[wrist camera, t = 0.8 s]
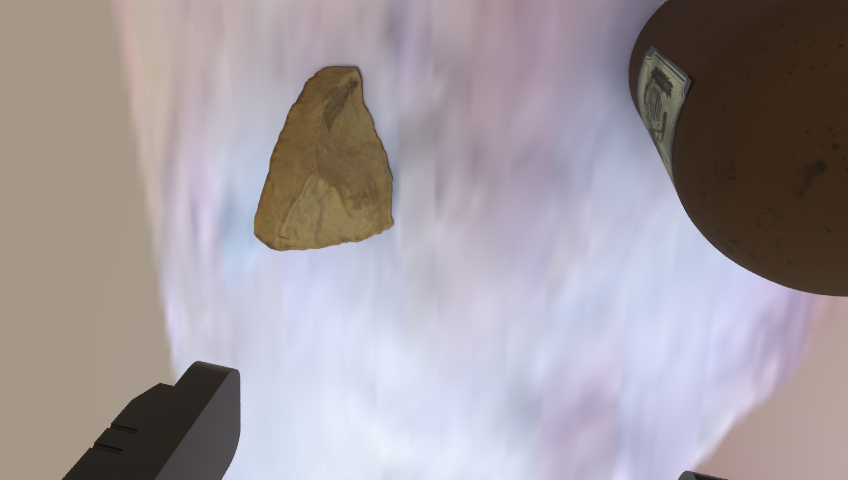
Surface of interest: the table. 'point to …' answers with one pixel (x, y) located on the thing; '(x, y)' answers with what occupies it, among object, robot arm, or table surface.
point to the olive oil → (754, 129)
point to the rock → (325, 170)
